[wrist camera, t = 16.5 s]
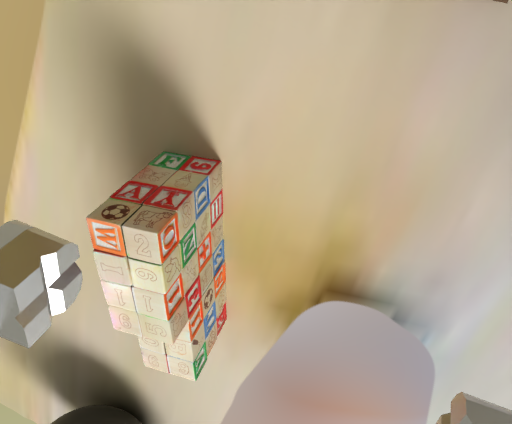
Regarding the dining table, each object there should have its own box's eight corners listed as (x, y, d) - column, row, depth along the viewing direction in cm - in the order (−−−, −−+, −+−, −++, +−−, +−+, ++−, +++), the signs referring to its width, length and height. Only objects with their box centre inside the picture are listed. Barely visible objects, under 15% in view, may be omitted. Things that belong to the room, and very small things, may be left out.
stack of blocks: (228, 318, 54) (182, 408, 45) (181, 306, 56) (126, 390, 46) (222, 158, 42) (156, 234, 33) (161, 148, 44) (82, 218, 34)
